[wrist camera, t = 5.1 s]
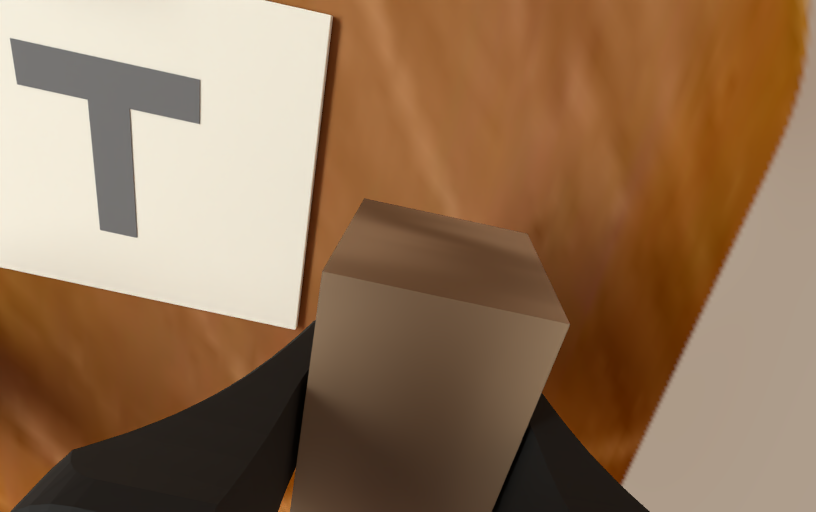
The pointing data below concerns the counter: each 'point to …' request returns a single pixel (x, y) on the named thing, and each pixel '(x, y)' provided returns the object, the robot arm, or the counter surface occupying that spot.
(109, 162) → the letter mat
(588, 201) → the counter surface
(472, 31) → the counter surface
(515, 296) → the walnut bar
